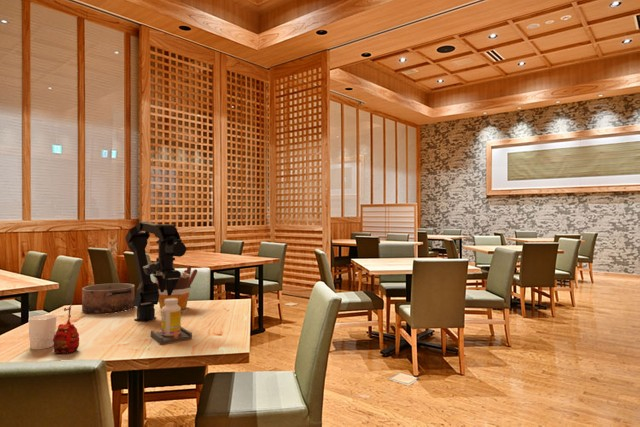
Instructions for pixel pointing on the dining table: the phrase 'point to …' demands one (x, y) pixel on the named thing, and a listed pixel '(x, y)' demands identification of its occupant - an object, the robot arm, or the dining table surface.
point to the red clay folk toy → (66, 337)
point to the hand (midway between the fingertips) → (165, 293)
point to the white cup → (42, 331)
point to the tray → (170, 339)
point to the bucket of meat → (179, 289)
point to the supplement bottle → (170, 317)
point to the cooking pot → (107, 298)
